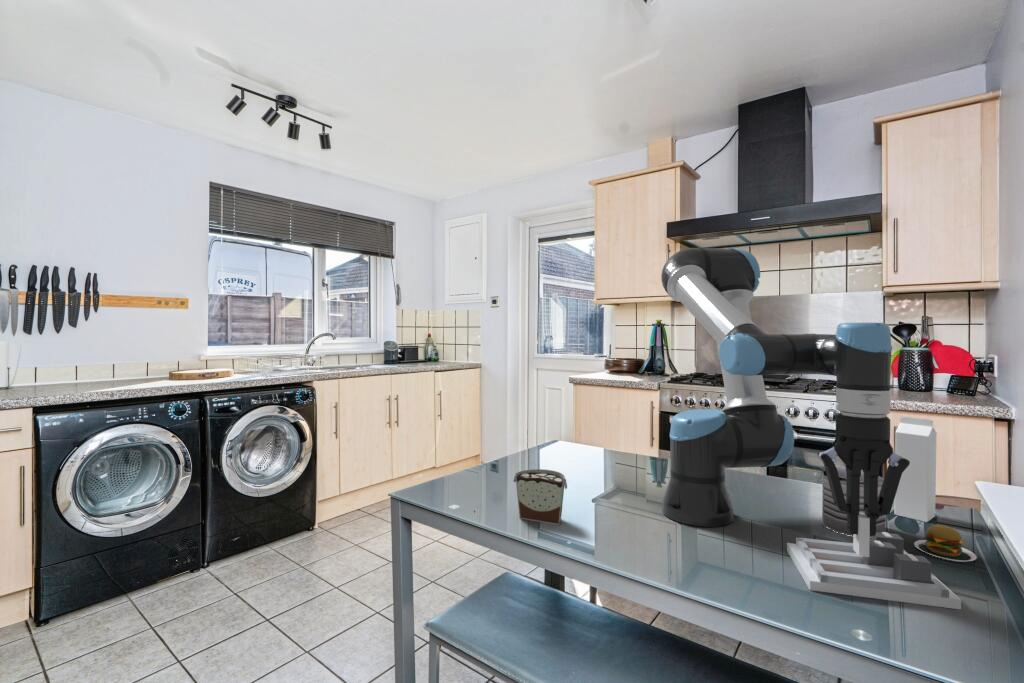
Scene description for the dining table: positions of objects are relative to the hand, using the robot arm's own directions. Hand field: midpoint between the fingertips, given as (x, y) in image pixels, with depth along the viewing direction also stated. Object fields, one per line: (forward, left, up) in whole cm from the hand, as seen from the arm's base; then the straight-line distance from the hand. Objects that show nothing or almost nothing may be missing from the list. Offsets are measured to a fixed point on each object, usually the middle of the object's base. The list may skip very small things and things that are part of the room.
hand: (861, 553), depth 84 cm
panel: (0, 0, -4) cm, 4 cm away
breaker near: (+5, -4, -2) cm, 7 cm away
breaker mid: (+3, 0, -2) cm, 4 cm away
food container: (-58, +12, -4) cm, 59 cm away
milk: (+22, +36, -4) cm, 42 cm away
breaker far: (+5, +5, -2) cm, 8 cm away
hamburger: (+19, +15, -5) cm, 25 cm away
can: (+6, +24, -4) cm, 25 cm away
